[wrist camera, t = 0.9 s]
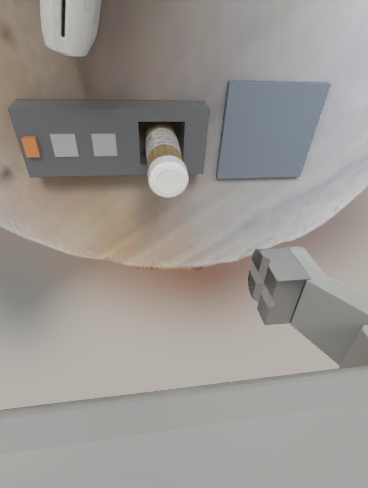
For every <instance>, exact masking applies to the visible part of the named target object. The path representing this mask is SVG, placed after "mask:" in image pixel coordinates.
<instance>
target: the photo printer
mask: <svg viewBox="0 0 368 488" xmlns="http://www.w3.org/2000/svg"><path fill="white" fill-rule="evenodd" d="M101 2H102V0H40V18H41V29H42V35H43V39H44V43H45V45H46V46H47V47H48V48H50V49H52V50H54V51H57V52H58V53H60V54H62V55H65V56H69V57H74V56H77V57H83V56H86V55H87V53H88V52H89V50H90V48H91V46H92V44H93V43H94V41H95V39H96V35H97V32H98V26H99V18H100V10H101Z"/></svg>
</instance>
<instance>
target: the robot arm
mask: <svg viewBox="0 0 368 488" xmlns="http://www.w3.org/2000/svg"><path fill="white" fill-rule="evenodd" d="M252 261H253V263H254V266H253V267H252V268H251V269H250V271H249V276H248V286H249V290H250V294H251V296H252V298H253V299H255V300H256V301H257V302H259V303H258V308H257V309H258V311H259V313H260V316H261V318H262V320H263V322H264V324H265V325H270V324H285V323H291V325H292V326H293V327H294V328H295V329H297V330H298V331H299V332H300V333H301V334H303V335H304V336H305V337H306V338H307V339H309V340H310V341H311V342H312V343H313V344H315V345H316V346H317V347H318V348H319V349H320V350H322V351H323V352H324V353H325V354H326V355H328V356H329V357H330V358H331V359H332V360H334V361H335V362H336V363H337V364H338V365H340V367H339V369H332V370H324V371H316V372H308V373H300V374H291V375H283V376H276V377H267V378H258V379H251V380H242V381H235V382H226V383H218V384H210V385H202V386H194V387H186V388H177V389H169V390H161V391H153V392H144V393H137V394H128V395H120V396H111V397H104V398H95V399H87V400H78V401H71V402H62V403H53V404H45V405H37V406H30V407H20V408H13V409H4V410H0V488H368V296H366V295H364V294H362V293H360V292H358V291H356V290H355V289H353V288H351V287H349V286H347V285H345V284H343V283H341V282H339V281H337V280H335V279H333V278H327V277H326V275H325V274H324V273H323V271H322V270H321V269H320V268H319V267H318V265H317V264H316V263H315V261H314V260H313V259H312V258H311V256H310V255H309V254H308V252H307V251H306V250H305V249H304V248H303V247H301V246H293V247H285V248H270V249H255V251H254V253H253V256H252Z"/></svg>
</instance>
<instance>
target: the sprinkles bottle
mask: <svg viewBox="0 0 368 488" xmlns="http://www.w3.org/2000/svg"><path fill="white" fill-rule="evenodd" d="M144 137H145V141H146V144H145V145H146V157H147V165H148V172H147V177H148V183H149V187H150V189H151V190H152V191H153V192H154V193H155V194H156V195H158V196H160V197H164V198H172V197H175V196H178V195H180V194H181V193H182V192H183V191H184V190H185V189H186V187H187V185H188V181H189V176H188V172H187V168H186V166H185V164H184V162H183V160H182V156H181V151H180V147H179V143H178V140H177V137H176V132H175V129H174V127H173V125H172V124H171V123H169V122H150V123H149V124H148V126H147V127H146V130H145V134H144Z"/></svg>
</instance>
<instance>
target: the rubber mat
mask: <svg viewBox="0 0 368 488" xmlns="http://www.w3.org/2000/svg"><path fill="white" fill-rule="evenodd" d="M329 87H330V84H329V83H320V82H260V81H228V88H227V95H226V103H225V111H224V119H223V126H222V134H221V142H220V150H219V157H218V165H217V173H216V178H217V179H235V178H275V177H300V174H301V171H302V168H303V165H304V162H305V159H306V156H307V153H308V150H309V147H310V144H311V141H312V138H313V135H314V132H315V129H316V126H317V123H318V120H319V117H320V114H321V111H322V108H323V105H324V102H325V99H326V96H327V93H328V90H329Z"/></svg>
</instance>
